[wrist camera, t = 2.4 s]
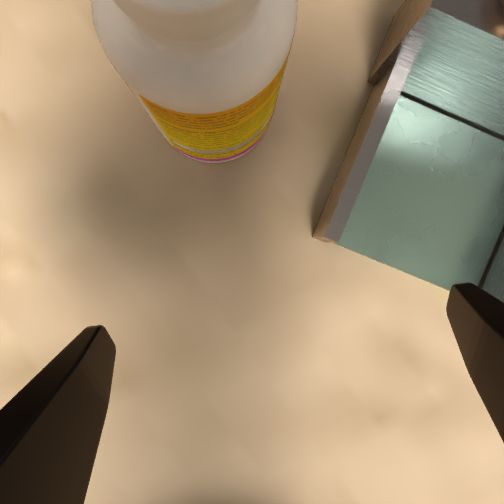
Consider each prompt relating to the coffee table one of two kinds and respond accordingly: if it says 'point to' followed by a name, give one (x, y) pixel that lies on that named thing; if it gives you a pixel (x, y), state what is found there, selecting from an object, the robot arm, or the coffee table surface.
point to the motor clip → (430, 150)
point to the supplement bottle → (201, 67)
